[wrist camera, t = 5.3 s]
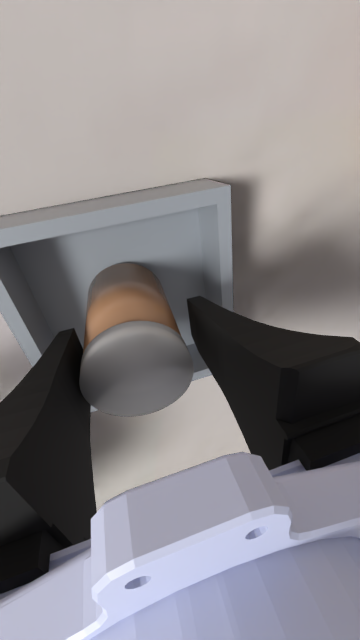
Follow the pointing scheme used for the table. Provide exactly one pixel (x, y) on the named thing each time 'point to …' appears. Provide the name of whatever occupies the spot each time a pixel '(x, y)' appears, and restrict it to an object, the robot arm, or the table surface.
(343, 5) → the table surface
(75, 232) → the bin
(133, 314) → the shaker
